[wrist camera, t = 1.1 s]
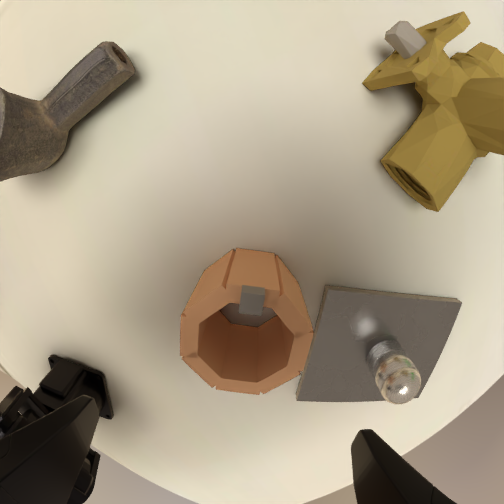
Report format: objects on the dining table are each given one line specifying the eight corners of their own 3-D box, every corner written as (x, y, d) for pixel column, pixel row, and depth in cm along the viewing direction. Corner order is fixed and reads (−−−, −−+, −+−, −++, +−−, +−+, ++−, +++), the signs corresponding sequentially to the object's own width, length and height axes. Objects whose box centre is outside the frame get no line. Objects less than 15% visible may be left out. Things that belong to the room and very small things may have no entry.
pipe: (153, 95, 16) (90, 57, 8) (33, 200, 18) (-40, 220, 10) (119, 37, 15) (60, -9, 7) (10, 143, 17) (-59, 146, 9)
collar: (287, 341, 21) (296, 407, 14) (199, 329, 20) (176, 392, 14) (304, 256, 19) (327, 302, 12) (205, 243, 19) (178, 282, 12)
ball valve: (483, 97, 16) (407, 2, 13) (577, 108, 6) (495, -40, 3) (406, 201, 19) (309, 102, 16) (503, 261, 10) (386, 80, 7)
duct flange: (415, 392, 22) (438, 433, 17) (295, 394, 22) (302, 447, 16) (456, 298, 19) (497, 331, 14) (325, 284, 19) (348, 328, 14)
